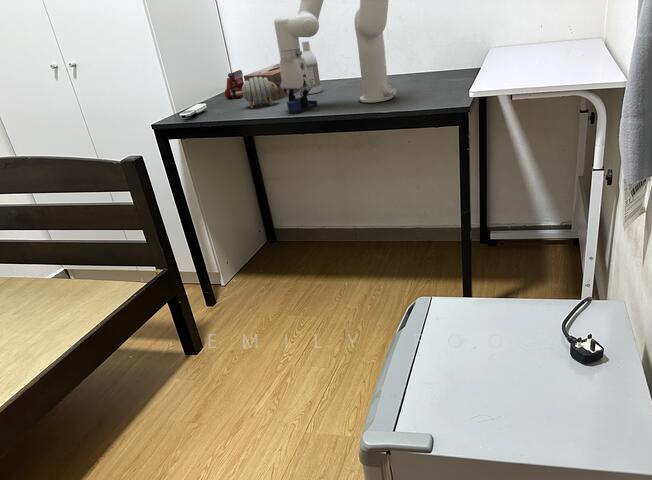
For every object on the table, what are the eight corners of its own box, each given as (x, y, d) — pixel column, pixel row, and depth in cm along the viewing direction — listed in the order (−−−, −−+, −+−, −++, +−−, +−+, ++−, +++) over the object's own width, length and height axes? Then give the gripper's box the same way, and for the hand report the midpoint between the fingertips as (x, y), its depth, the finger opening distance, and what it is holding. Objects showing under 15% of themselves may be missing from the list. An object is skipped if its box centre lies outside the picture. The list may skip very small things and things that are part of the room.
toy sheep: (282, 104, 220) (277, 75, 215) (240, 112, 217) (233, 82, 212) (278, 100, 229) (273, 71, 224) (238, 107, 226) (231, 78, 221)
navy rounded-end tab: (307, 105, 214) (306, 94, 212) (317, 106, 211) (316, 95, 209) (286, 113, 206) (284, 102, 204) (296, 114, 203) (294, 103, 201)
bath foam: (322, 92, 233) (315, 40, 223) (306, 95, 232) (298, 43, 222) (319, 89, 239) (312, 39, 228) (304, 92, 238) (295, 41, 227)
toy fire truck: (223, 100, 243) (217, 75, 238) (239, 93, 253) (233, 69, 248) (236, 99, 241) (230, 74, 235) (251, 93, 250) (246, 68, 245)
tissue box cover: (281, 87, 255) (277, 63, 250) (308, 86, 249) (304, 62, 244) (248, 100, 236) (243, 75, 231) (276, 100, 230) (272, 74, 225)
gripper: (315, 52, 195) (323, 105, 205) (280, 53, 205) (289, 104, 214) (301, 56, 190) (310, 110, 200) (266, 57, 200) (275, 109, 209)
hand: (299, 106), depth 207 cm, fingers closed on navy rounded-end tab, 5 cm apart
